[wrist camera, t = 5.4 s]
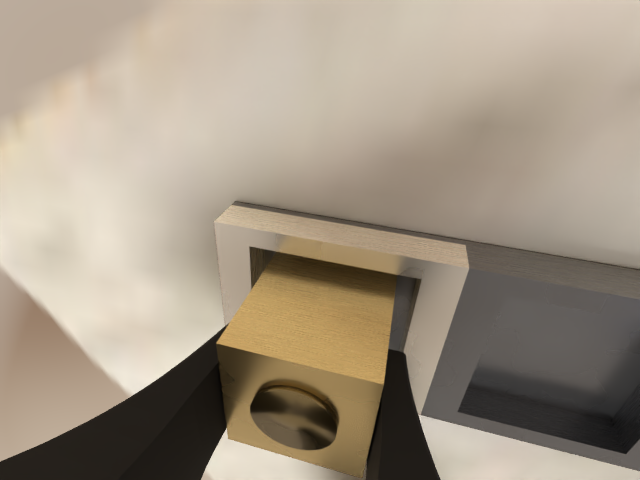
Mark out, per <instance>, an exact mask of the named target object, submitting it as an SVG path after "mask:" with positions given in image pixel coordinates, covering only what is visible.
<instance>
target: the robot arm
mask: <svg viewBox="0 0 640 480" xmlns="http://www.w3.org/2000/svg"><path fill="white" fill-rule="evenodd" d="M229 323H230V322H229ZM229 323H228V324H229ZM228 324H227V325H226V326H225V327H224V328H223V329H221V330H220V331H219V332H218V333H217V334H215V335H214V336H213V337H212V338H211V339H210V340H208V341H207V342H206V343H205V344H203V345H202V346H201V347H200V348H198V349H197V350H196V351H195V352H193V353H192V354H191V355H190V356H188V357H187V358H186V359H185V360H183V361H182V362H181V363H179V364H178V365H177V366H175V367H174V368H172V369H171V370H170V371H168V372H167V373H166V374H164V375H163V376H162V377H160V378H159V379H157V380H156V381H154V382H153V383H151V384H150V385H148V386H147V387H145V388H144V389H142V390H141V391H139V392H138V393H136V394H134V395H133V396H131V397H130V398H128V399H126V400H125V401H123V402H121V403H120V404H118V405H116V406H114V407H113V408H111V409H109V410H108V411H106V412H104V413H102V414H100V415H99V416H97V417H95V418H93V419H91V420H89V421H88V422H86V423H84V424H82V425H80V426H78V427H76V428H74V429H72V430H70V431H68V432H66V433H64V434H62V435H60V436H58V437H56V438H53V439H51V440H49V441H47V442H45V443H43V444H41V445H38V446H36V447H34V448H31V449H29V450H27V451H25V452H22V453H20V454H18V455H15V456H13V457H10V458H8V459H6V460H3V461H1V462H0V480H201V478H202V475H203V473H204V471H205V468H206V466H207V464H208V462H209V460H210V458H211V456H212V454H213V452H214V450H215V448H216V446H217V445H218V443H219V441H220V439H221V437H222V435H223V433H224V432H225V430H226V428H227V425H226V417H225V409H224V401H223V394H222V386H221V378H220V370H219V362H218V354H217V346H216V343H217V341H218V340H219V338H220V337H221V335H222V334H223V332H224V331H225V329H226V327H227V326H228ZM366 480H440V477H439V475H438V472H437V470H436V467H435V464H434V462H433V459H432V456H431V453H430V451H429V448H428V445H427V442H426V439H425V436H424V433H423V430H422V426H421V423H420V420H419V416H418V413H417V409H416V405H415V402H414V398H413V394H412V389H411V385H410V380H409V374H408V368H407V359H406V355H405V353H404V352H401V351H396V350H392V349H388V354H387V363H386V371H385V379H384V386H383V390H382V395H381V399H380V403H379V408H378V412H377V416H376V421H375V425H374V430H373V434H372V438H371V443H370V447H369V451H368V456H367V470H366Z"/></svg>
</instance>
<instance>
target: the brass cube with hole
mask: <svg viewBox="0 0 640 480" xmlns="http://www.w3.org/2000/svg"><path fill="white" fill-rule="evenodd" d="M396 281H397V275H396V274H391V273H386V272H381V271H376V270H370V269H365V268H360V267H355V266H349V265H344V264H339V263H334V262H329V261H323V260H318V259H313V258H308V257H303V256H297V255H292V254H287V253H282V252H276V253H275V255H274V256H273V258H272V259H271V261H270V262H269V264H268V265H267V267H266V268H265V270H264V271H263V273H262V274H261V276H260V277H259V279H258V280H257V282H256V283H255V285H254V286H253V288H252V289H251V291H250V293H249V294H248V296H247V297H246V299H245V300H244V302H243V303H242V305H241V306H240V308H239V309H238V311H237V312H236V314H235V315H234V317H233V318H232V320H231V321H230V323H229V324H228V326H227V327H226V329H225V331H224V332H223V334H222V335H221V337H220V338H219V340H218V341H217V343H216V346H217V354H218V362H219V370H220V378H221V386H222V394H223V401H224V409H225V417H226V425H227V433H228V439H231V440H234V441H238V442H241V443H244V444H248V445H251V446H254V447H258V448H261V449H265V450H268V451H271V452H275V453H278V454H281V455H285V456H288V457H292V458H295V459H298V460H302V461H305V462H308V463H312V464H315V465H319V466H322V467H325V468H329V469H332V470H336V471H339V472H342V473H346V474H349V475H352V476H356V477H359V478H363V473H364V469H365V464H366V460H367V456H368V451H369V447H370V443H371V438H372V434H373V430H374V425H375V421H376V416H377V412H378V408H379V403H380V399H381V395H382V390H383V386H384V379H385V371H386V363H387V354H388V346H389V338H390V330H391V322H392V314H393V306H394V298H395V289H396Z"/></svg>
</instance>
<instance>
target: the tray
mask: <svg viewBox="0 0 640 480" xmlns="http://www.w3.org/2000/svg"><path fill="white" fill-rule="evenodd" d="M214 227H215V237H216V246H217V255H218V265H219V274H220V283H221V293H222V302H223V311H224V321H225V326H226V325H227V324H228V323H229V322H230V321H231V320H232V318H233V317H234V315H235V314H236V312H237V311H238V309H239V308H240V306H241V305H242V303H243V302H244V300H245V299H246V297H247V296H248V294H249V293H250V291H251V289H252V288H253V286H254V285H255V283H256V282H257V280H258V279H259V277H260V276H261V274H262V273H263V271H264V270H265V268H266V267H267V265H268V264H269V262H270V261H271V259H272V258H273V256H274V255H275V253H276V252H282V253H287V254H292V255H297V256H303V257H308V258H313V259H318V260H323V261H329V262H334V263H339V264H344V265H349V266H355V267H360V268H365V269H370V270H376V271H381V272H386V273H391V274H396V275H397V281H396V289H395V298H394V306H393V314H392V322H391V330H390V338H389V346H388V349H392V350H396V351H401V352H404V353H405V355H406V359H407V368H408V374H409V380H410V385H411V389H412V394H413V398H414V402H415V405H416V409H417V413H418V414H419V415H423V416H427V417H431V418H435V419H439V420H443V421H446V422H450V423H454V424H458V425H462V426H466V427H470V428H474V429H478V430H481V431H485V432H489V433H493V434H497V435H501V436H505V437H509V438H513V439H517V440H520V441H524V442H528V443H532V444H536V445H540V446H544V447H548V448H552V449H555V450H559V451H563V452H567V453H571V454H575V455H579V456H583V457H587V458H590V459H594V460H598V461H602V462H606V463H610V464H614V465H618V466H622V467H626V468H629V469H633V470H637V471H640V270H636V269H630V268H624V267H619V266H613V265H607V264H601V263H595V262H589V261H583V260H577V259H571V258H566V257H560V256H554V255H548V254H542V253H536V252H530V251H524V250H518V249H512V248H507V247H501V246H495V245H489V244H483V243H477V242H471V241H465V240H459V239H454V238H448V237H442V236H436V235H430V234H424V233H418V232H412V231H406V230H401V229H395V228H389V227H383V226H377V225H371V224H365V223H359V222H353V221H347V220H342V219H336V218H330V217H324V216H318V215H312V214H306V213H300V212H294V211H289V210H283V209H277V208H271V207H265V206H259V205H253V204H247V203H241V202H236V201H235V202H234V203H233V204H232V205H231V206H230V207H229V208H228V209H227V210H226V211H225V212H224V213H223V214H221V215H220V216H219V217H218V218H217V219H216V220H215V221H214Z"/></svg>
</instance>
